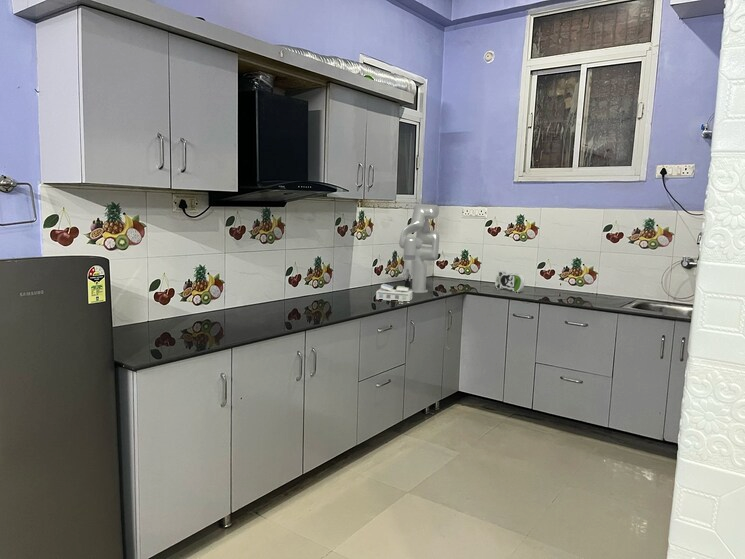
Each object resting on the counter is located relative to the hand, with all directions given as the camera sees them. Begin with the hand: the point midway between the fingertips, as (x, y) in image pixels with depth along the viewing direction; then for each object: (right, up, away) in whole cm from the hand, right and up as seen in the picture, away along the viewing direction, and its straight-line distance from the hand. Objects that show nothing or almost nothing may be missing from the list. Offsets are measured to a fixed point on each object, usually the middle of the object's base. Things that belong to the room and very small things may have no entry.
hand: (407, 287), depth 347 cm
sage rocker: (-3, -1, +1) cm, 3 cm away
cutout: (+78, -4, +58) cm, 97 cm away
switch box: (-8, -8, +3) cm, 12 cm away
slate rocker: (-13, 0, +3) cm, 13 cm away
